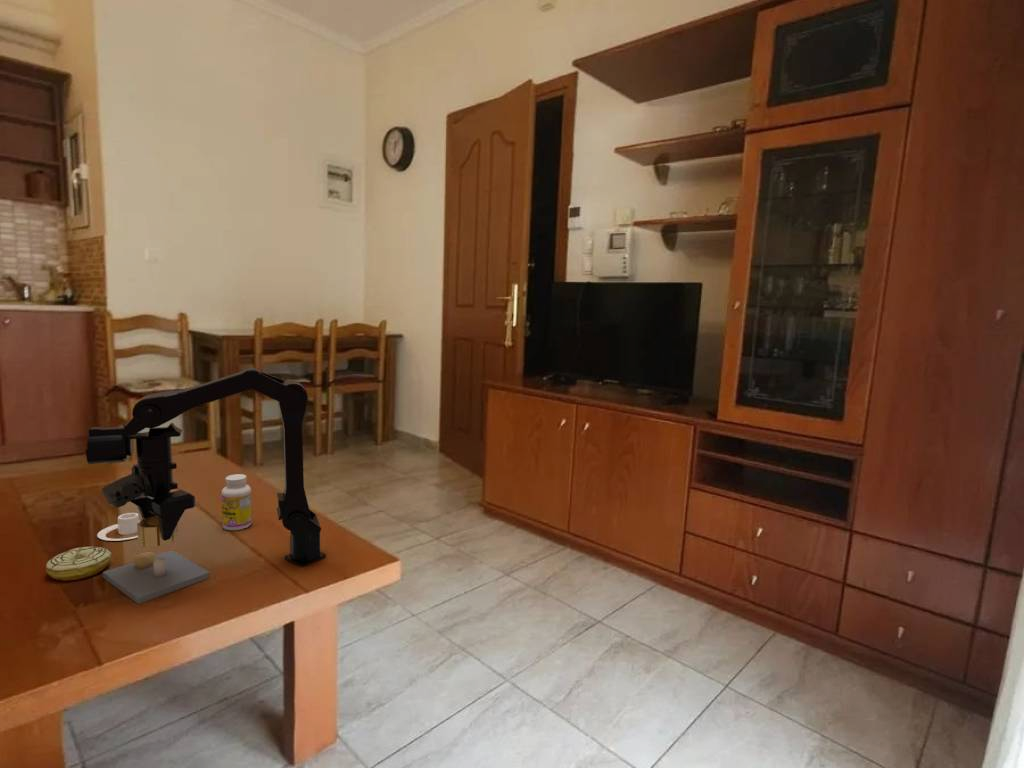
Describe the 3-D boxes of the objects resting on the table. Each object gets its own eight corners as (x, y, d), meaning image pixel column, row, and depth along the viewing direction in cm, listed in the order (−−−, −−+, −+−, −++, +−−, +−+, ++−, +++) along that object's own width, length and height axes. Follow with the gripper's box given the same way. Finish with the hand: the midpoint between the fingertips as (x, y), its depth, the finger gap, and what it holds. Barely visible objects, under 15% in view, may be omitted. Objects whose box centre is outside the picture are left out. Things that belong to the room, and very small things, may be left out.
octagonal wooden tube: (183, 539, 111) (182, 520, 110) (148, 550, 106) (147, 530, 105) (168, 531, 114) (167, 512, 114) (133, 541, 109) (132, 521, 109)
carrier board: (209, 577, 113) (208, 558, 112) (138, 604, 102) (137, 582, 102) (172, 555, 122) (171, 537, 121) (103, 577, 111) (101, 557, 111)
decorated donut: (116, 556, 121) (115, 539, 120) (106, 578, 112) (105, 560, 111) (55, 564, 116) (54, 547, 116) (40, 587, 107) (39, 569, 106)
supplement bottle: (216, 527, 137) (214, 477, 136) (240, 519, 143) (239, 471, 142) (234, 533, 134) (232, 482, 133) (257, 524, 140) (256, 475, 139)
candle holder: (127, 546, 126) (126, 528, 126) (84, 539, 129) (83, 522, 128) (169, 526, 138) (169, 510, 137) (129, 521, 140) (128, 504, 140)
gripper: (86, 458, 106) (91, 535, 109) (128, 478, 96) (133, 563, 98) (150, 447, 116) (154, 519, 118) (195, 465, 105) (198, 542, 107)
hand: (158, 535), depth 110 cm, fingers closed on octagonal wooden tube, 6 cm apart
